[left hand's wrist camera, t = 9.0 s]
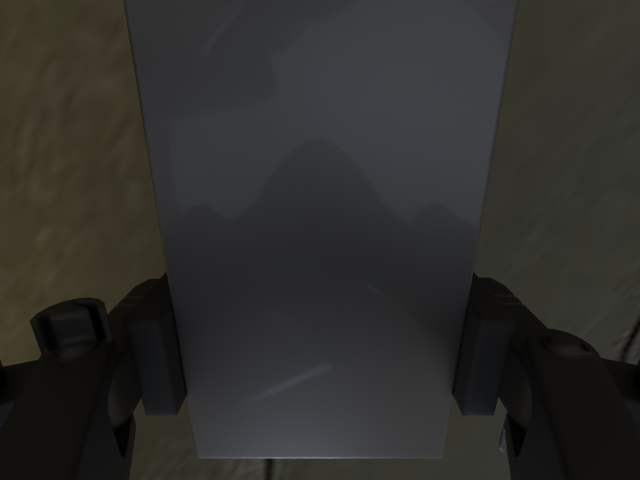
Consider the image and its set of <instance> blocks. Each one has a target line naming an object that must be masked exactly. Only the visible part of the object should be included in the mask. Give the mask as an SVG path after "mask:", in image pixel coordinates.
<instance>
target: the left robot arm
mask: <svg viewBox="0 0 640 480" xmlns="http://www.w3.org/2000/svg"><path fill="white" fill-rule="evenodd" d="M30 323H31V326H32V328H33V331H34V334H35V337H36V340H37V342H38V345H39V348H40V351H41V353H42V355H41V356H40V358H39V360H35V361H30V362H25V363H20V364H15V365H10V366H5V367H3V365H2V363H1V361H0V480H129V475H130V468H131V461H132V453H133V446H134V439H135V431H136V424H135V418H134V415H133V411H134V409H135V407H136V406H137V404H138V402H139V401H140V399H141V397H142V401H143V405H144V409H145V413H146V415H178V412H179V410H180V408H181V406H182V404H183V401H184V399H185V397H186V390H185V383H184V377H183V371H182V364H181V358H180V352H179V346H178V339H177V333H176V327H175V320H174V314H173V308H172V301H171V295H170V289H169V283H168V276H167V271H166V273H165V274H164V275H163V276H162V277H161V278H160V279H148V280H147V281H145V282H143V283H141V284H139V285H138V286H136V287H134V288H133V289H132V290H131V291H130V292H129V293H128V294H127V295H126V296H125V298H123V299H122V300H121V302H120V303H119V304H118V306H117V307H115V308H114V309H113V310H112V311H111V312H110V313H109V314H108V315H107V312H106V308H105V304H104V302H102V301H101V300H99V299H94V298H79V299H73V300H69V301H64V302H61V303H58V304H56V305H53V306H50V307H48V308H46V309H45V310H43V311H41V312H39V313H38V314H36V315H35V316H34V317H33V318H32V319H31V320H30ZM453 396H454V398H455V400H456V402H457V404H458V407H459V409H460V411H461V413H462V415H494V411H495V407H496V403H497V399H498V396H499V398H500V400H501V401H502V403H503V405H504V406H505V408H506V410H507V415H506V418H505V422H504V426H503V430H502V434H501V437H500V441H499V447H498V451H500V452H503V451H504V447H505V444H506V445H507V452H508V459H509V467H510V474H511V480H640V359H639V361H638V364H637V365H634V364H628V363H623V362H618V361H613V360H608V359H603V358H600V356H599V354H598V353H597V352H596V350H595V349H594V348H593V347H592V346H591V345H590V344H588V343H587V342H585V341H584V340H582V339H581V338H578V337H576V336H574V335H572V334H569V333H567V332H563V331H559V330H556V329H548V328H547V327H546V326H545V325H544V324H543V323H542V322H541V321H540V320H539V319H538V318H537V317H536V316H535V315H534V314H533V313H532V312H531V311H530V310H529V309H528V308H527V307H526V306H525V305H522V302H521V301H520V300H519V299H518V298H517V297H514V294H513V293H512V292H511V291H510V290H509V289H508V288H507V287H506V286H504V285H503V284H501V283H499V282H497V281H495V280H494V279H492V278H478V276H477V275H476V274H475V273H474V272H473V276H472V282H471V288H470V294H469V300H468V306H467V312H466V318H465V324H464V330H463V336H462V342H461V348H460V354H459V360H458V366H457V372H456V378H455V384H454V390H453Z"/></svg>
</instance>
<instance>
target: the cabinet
mask: <svg viewBox="0 0 640 480" xmlns="http://www.w3.org/2000/svg"><path fill="white" fill-rule="evenodd" d="M518 2H519V0H124V6H125V12H126V18H127V25H128V31H129V37H130V44H131V50H132V56H133V62H134V69H135V75H136V81H137V88H138V94H139V100H140V106H141V113H142V119H143V125H144V132H145V138H146V144H147V150H148V157H149V163H150V169H151V176H152V182H153V188H154V195H155V201H156V207H157V213H158V220H159V226H160V232H161V239H162V245H163V251H164V257H165V264H166V270H167V276H168V283H169V289H170V295H171V301H172V308H173V314H174V320H175V327H176V333H177V339H178V346H179V352H180V358H181V364H182V371H183V377H184V383H185V390H186V396H187V402H188V408H189V415H190V421H191V427H192V434H193V440H194V446H195V452H196V457H197V458H441V457H442V456H443V450H444V444H445V438H446V432H447V426H448V420H449V414H450V408H451V402H452V396H453V390H454V384H455V378H456V372H457V366H458V360H459V354H460V348H461V342H462V336H463V330H464V324H465V318H466V312H467V306H468V300H469V294H470V288H471V282H472V276H473V270H474V264H475V259H476V253H477V247H478V241H479V235H480V229H481V223H482V217H483V211H484V205H485V199H486V193H487V187H488V181H489V175H490V169H491V163H492V157H493V151H494V145H495V139H496V133H497V127H498V121H499V115H500V109H501V103H502V97H503V91H504V85H505V79H506V73H507V67H508V61H509V55H510V50H511V44H512V38H513V32H514V26H515V20H516V14H517V8H518Z"/></svg>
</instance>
